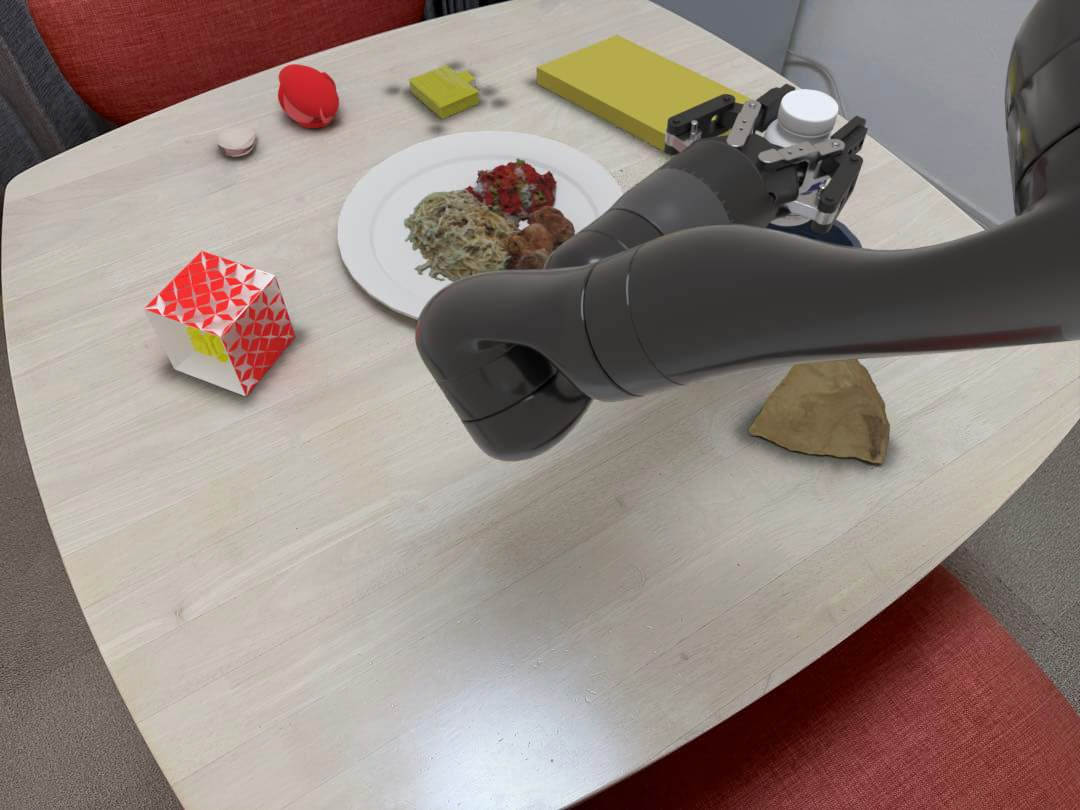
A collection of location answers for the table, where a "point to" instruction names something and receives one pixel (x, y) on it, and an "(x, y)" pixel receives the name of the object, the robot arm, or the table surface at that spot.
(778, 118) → the pill bottle
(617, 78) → the flat olive board
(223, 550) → the table surface
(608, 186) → the plated food
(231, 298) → the red patterned cube
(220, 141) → the macaroon
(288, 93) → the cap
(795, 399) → the rock
